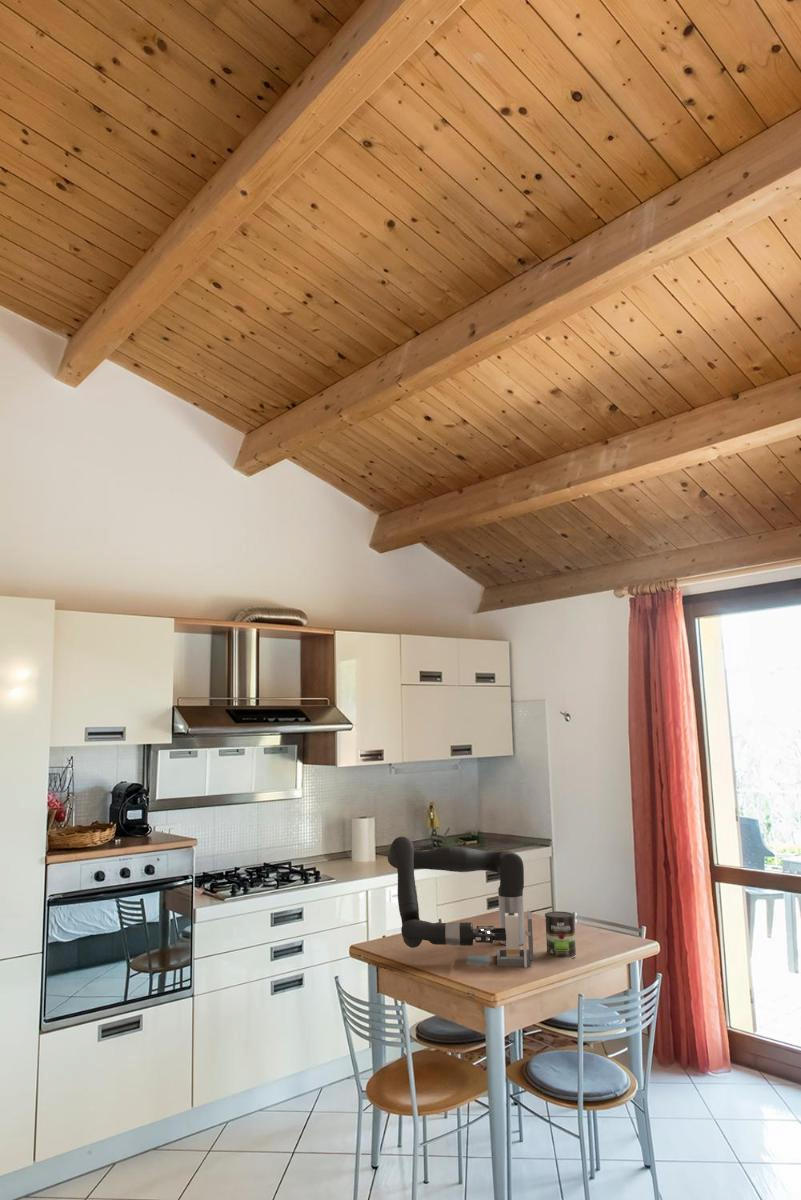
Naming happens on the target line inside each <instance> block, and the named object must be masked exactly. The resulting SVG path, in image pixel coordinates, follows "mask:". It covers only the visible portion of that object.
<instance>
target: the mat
mask: <svg viewBox="0 0 801 1200" xmlns="http://www.w3.org/2000/svg"><path fill="white" fill-rule="evenodd" d="M465 965H466V966H490V965H491V955H467V956H466V961H465Z"/></svg>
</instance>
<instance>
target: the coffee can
mask: <svg viewBox="0 0 801 1200" xmlns="http://www.w3.org/2000/svg"><path fill="white" fill-rule="evenodd" d="M544 917H545V936H546V937H545V938H546V939H545V940H546V954H547V955H548V956H552V957H559V958H561V957H562V958H567V957H568V958H571V959H572V958H573V957H575V956H576V957H577V954H576V953H577V951H576V948H577V947H576V930H575V929H576V928H575V914H574V913H573V912H572V913H571V912H568V911H549V912H546V913H544ZM576 957H575V958H576ZM573 959H574V958H573Z"/></svg>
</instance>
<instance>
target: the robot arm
mask: <svg viewBox="0 0 801 1200" xmlns="http://www.w3.org/2000/svg"><path fill="white" fill-rule="evenodd" d="M387 861H388V863H389V865H390V866H391V867H393V868H395V869H396V870H397V904H398V911H399V914H400V918H401V927H400V931H401V937H402V939H403V943H404V944H405V945H406V946H408V947H409V948H411V949H413V948H417V947H419V946H420V945H421V944H422V942H423V941H427V942H429V943H430V944H432V945H435V946H436V945H437V946H439V945H440V946H442V945H443V946H445V945H446V946H448V945H449V946H453V947H454V946H458V947H459V946H460V947H464V946H465V947H466V946H467V947H468V946H469V947H472V946H473V945H474V940H475V943H482V944H484V943H485V944H487V943H488V944H493V943H495V942H500V944H501V945H504V946H506V929H505V913H509V912H514V913H518V923H519V946H522V945H524V942H523V932H525V912H524V887H525V878H524V877H525V871H524V869H525V868H524V862H523V859H522V857H521V855H519V854H518V853H516V852H514V851H512V850H481V849H476V848H471V847H465V846H464V847H463V846H456V845H444V846H440V847H436V848H431V849H428V850H415V846H414V843H413V841H412V840H411V839H409V838H408V837H407V836H398V837H396V838H395V839H394V840H393V841H392V842H391V845H390V847H389V850H388V854H387ZM415 870H433V871H436V870H437V871H445V872H453V873H456V872H457V873H469V872H478V871H487V872H492V873H497V874H499V886H498V889H497V892H498V893H497V894H498V912H499V913H498V914H499V927H494V925H476V928H474V925H473V922H470V921H469V922H467V921H466V922H465V921H464V922H463V921H462V922H459V921H457V922H456V921H455V922H454V921H453V922H430V921H427V920H421V919H420V908H419V902H418V895H417V889H416V877H415Z"/></svg>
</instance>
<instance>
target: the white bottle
mask: <svg viewBox="0 0 801 1200" xmlns="http://www.w3.org/2000/svg"><path fill="white" fill-rule="evenodd" d="M505 929H506V945H505V949H506V955H507V959H520V949H521V948H520V945H519V923H518V913H514V912H509V913H505Z"/></svg>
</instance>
